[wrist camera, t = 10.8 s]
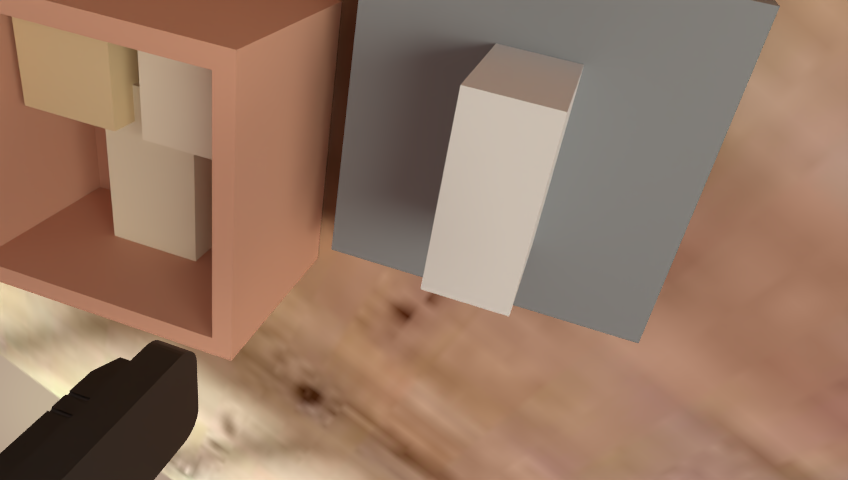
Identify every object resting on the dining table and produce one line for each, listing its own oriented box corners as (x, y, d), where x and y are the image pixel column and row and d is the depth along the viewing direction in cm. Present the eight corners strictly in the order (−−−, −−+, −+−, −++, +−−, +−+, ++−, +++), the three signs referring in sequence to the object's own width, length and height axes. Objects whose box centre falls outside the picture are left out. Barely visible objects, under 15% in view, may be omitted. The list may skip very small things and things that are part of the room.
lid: (770, -6, 22) (811, 45, 16) (639, 314, 29) (634, 432, 23) (387, -89, 24) (301, -70, 18) (349, 228, 31) (277, 315, 25)
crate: (342, 1, 27) (236, 49, 20) (316, 273, 33) (230, 378, 27) (74, -64, 29) (-105, -39, 22) (100, 205, 35) (-30, 287, 29)
